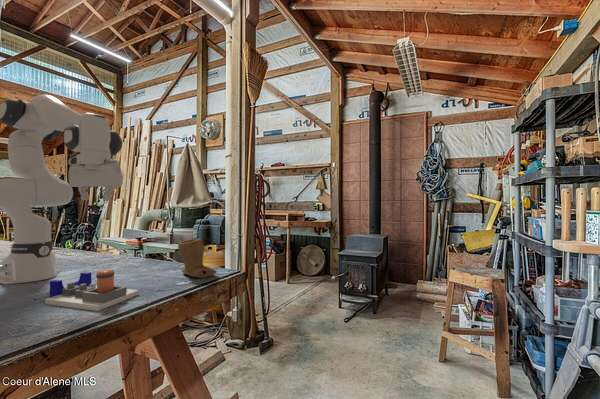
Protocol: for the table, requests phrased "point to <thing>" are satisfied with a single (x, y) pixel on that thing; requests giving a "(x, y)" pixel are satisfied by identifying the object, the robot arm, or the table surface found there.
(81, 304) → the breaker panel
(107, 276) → the lockout cap
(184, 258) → the brown boot
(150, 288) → the table surface
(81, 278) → the blue u-shaped piece
